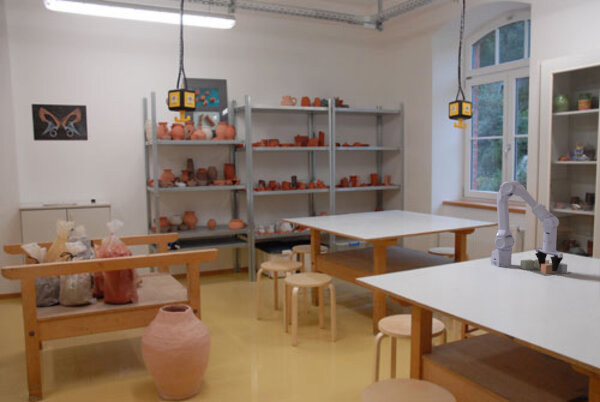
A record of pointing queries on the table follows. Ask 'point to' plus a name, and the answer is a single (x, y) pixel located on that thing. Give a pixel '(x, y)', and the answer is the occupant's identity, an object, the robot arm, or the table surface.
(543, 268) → the terracotta brick
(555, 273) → the mat
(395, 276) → the table surface
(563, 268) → the bluegrey brick
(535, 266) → the cream brick
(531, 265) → the sage brick
